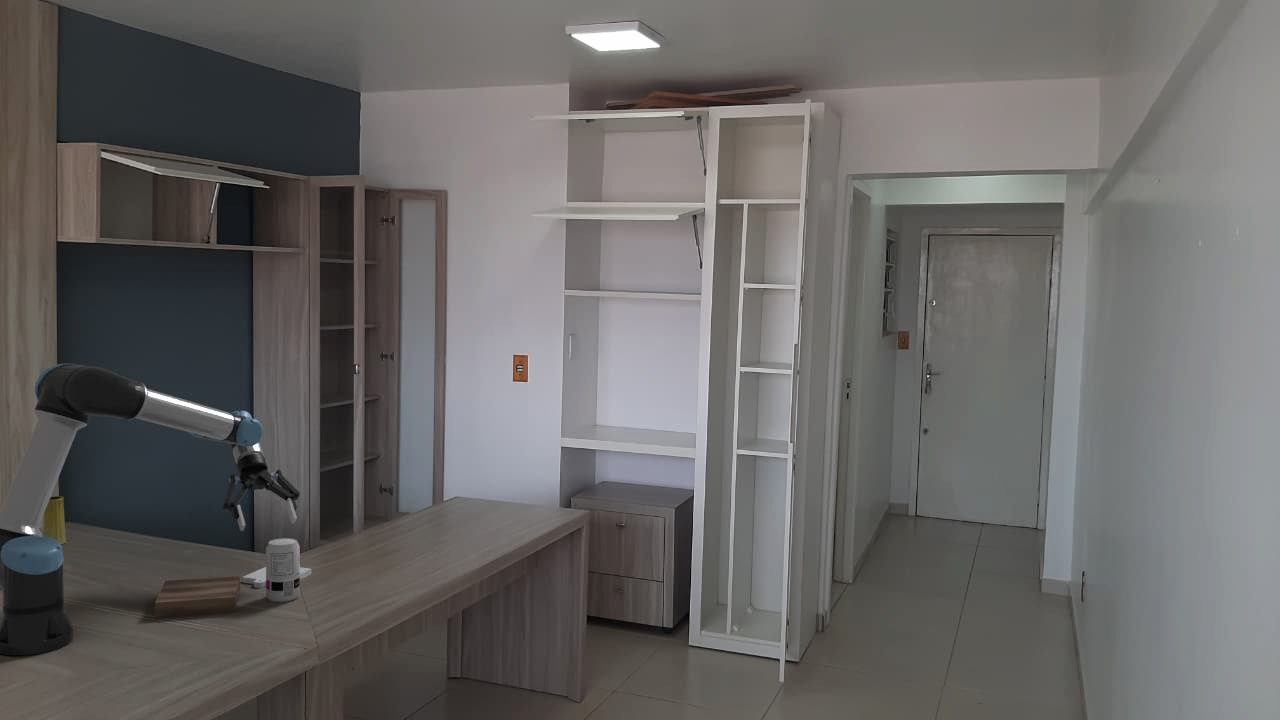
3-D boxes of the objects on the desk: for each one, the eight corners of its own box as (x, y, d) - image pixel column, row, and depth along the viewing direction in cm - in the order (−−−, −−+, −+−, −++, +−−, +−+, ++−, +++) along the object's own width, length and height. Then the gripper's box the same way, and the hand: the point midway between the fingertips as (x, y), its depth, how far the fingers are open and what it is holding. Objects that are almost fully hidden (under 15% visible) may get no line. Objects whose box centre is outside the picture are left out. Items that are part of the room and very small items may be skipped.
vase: (44, 542, 301) (43, 496, 300) (67, 540, 304) (66, 495, 302) (41, 547, 295) (40, 500, 294) (65, 545, 298) (64, 499, 297)
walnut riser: (235, 612, 243) (234, 596, 243) (155, 618, 237) (155, 602, 237) (240, 590, 260) (240, 575, 260) (165, 595, 254) (165, 580, 254)
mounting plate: (277, 568, 282) (277, 561, 281) (316, 572, 278) (316, 566, 278) (236, 586, 264) (236, 579, 264) (277, 591, 261) (277, 584, 261)
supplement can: (259, 599, 253) (259, 542, 252) (284, 591, 260) (284, 535, 259) (281, 605, 249) (281, 547, 248) (306, 596, 257) (306, 540, 255)
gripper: (291, 463, 282) (311, 525, 272) (200, 473, 266) (217, 539, 256) (298, 448, 278) (318, 510, 267) (205, 456, 262) (223, 523, 252)
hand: (269, 524), depth 262 cm, fingers open, 13 cm apart
